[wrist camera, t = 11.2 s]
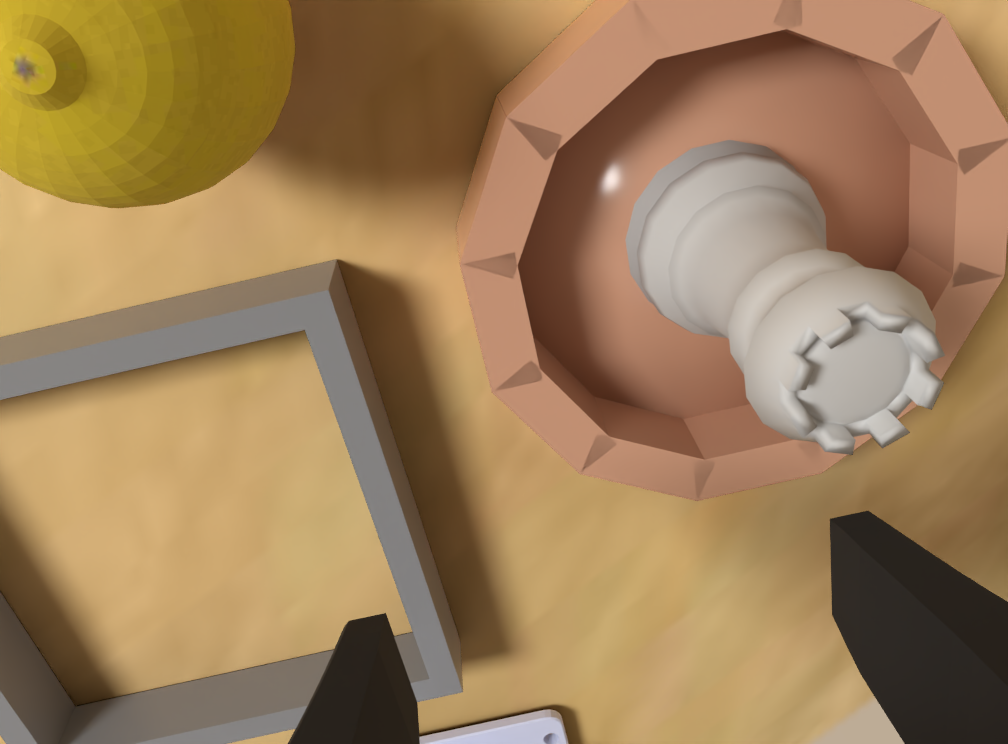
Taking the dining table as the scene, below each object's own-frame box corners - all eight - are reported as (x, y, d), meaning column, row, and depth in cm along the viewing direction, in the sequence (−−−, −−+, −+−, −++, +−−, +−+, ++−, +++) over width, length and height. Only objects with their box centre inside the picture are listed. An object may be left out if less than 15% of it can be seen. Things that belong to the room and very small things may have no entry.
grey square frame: (460, 641, 27) (463, 692, 25) (62, 728, 27) (36, 784, 25) (336, 259, 20) (328, 289, 19) (-175, 378, 21) (-231, 419, 19)
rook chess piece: (673, 105, 19) (821, 207, 12) (839, 175, 20) (1066, 307, 13) (590, 282, 21) (676, 462, 14) (747, 337, 22) (903, 531, 15)
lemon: (19, -148, 16) (-293, -213, 9) (312, -126, 17) (230, -171, 10) (69, 143, 19) (-146, 267, 12) (322, 153, 19) (264, 279, 12)
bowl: (937, 386, 24) (992, 435, 21) (518, 480, 24) (528, 538, 22) (954, -93, 18) (1031, -97, 16) (408, 36, 18) (406, 51, 16)
